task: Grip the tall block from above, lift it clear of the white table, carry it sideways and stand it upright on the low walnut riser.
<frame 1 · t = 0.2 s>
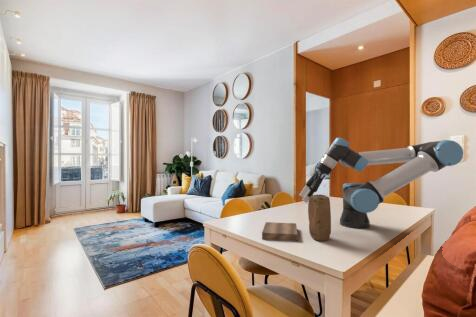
hand: (302, 198, 130), 16 cm above the table, tool tilted 35°, fingers open, 13 cm apart
riser: (280, 233, 123), on the table
block: (319, 238, 116), on the table
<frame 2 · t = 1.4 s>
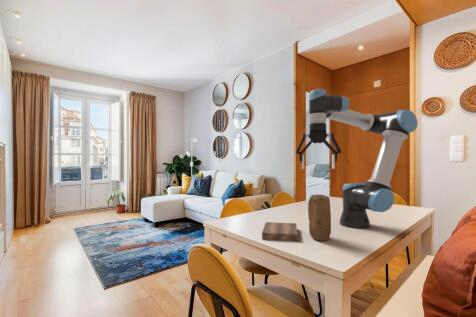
hand: (318, 168, 116), 32 cm above the table, tool pointing down, fingers open, 13 cm apart
nothing on the table moved.
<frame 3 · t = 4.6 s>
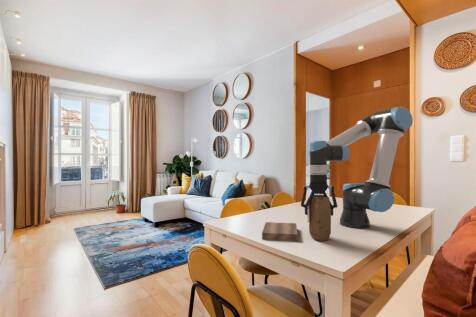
hand: (318, 222, 116), 7 cm above the table, tool pointing down, fingers closed on block, 9 cm apart
block: (318, 238, 116), on the table, touching gripper
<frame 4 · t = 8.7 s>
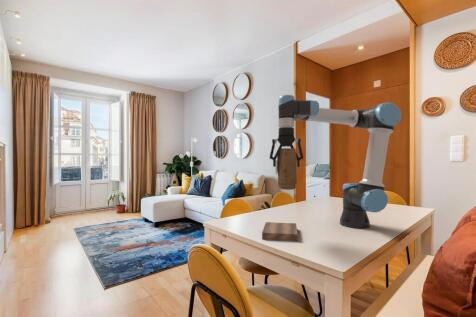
hand: (286, 173, 121), 30 cm above the table, tool pointing down, fingers closed on block, 9 cm apart
block: (286, 189, 121), point 22 cm above the table, touching gripper
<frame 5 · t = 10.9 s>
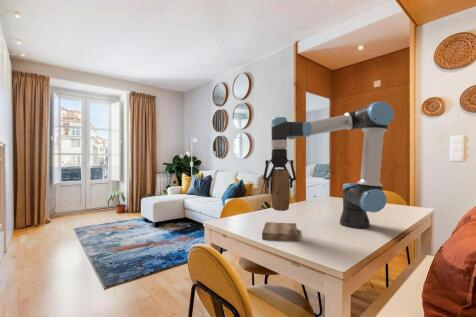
hand: (279, 194, 123), 20 cm above the table, tool pointing down, fingers closed on block, 9 cm apart
block: (279, 209, 123), point 12 cm above the table, touching gripper
when the fingers open (12 cm above the table, at t = 12.8 s): block drops 1 cm, resting on riser.
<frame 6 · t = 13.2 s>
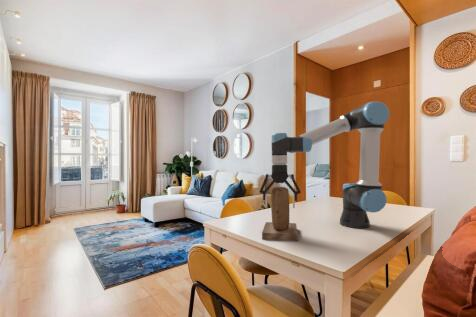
hand: (279, 207, 123), 13 cm above the table, tool pointing down, fingers open, 13 cm apart
block: (279, 228, 123), point 3 cm above the table, touching riser
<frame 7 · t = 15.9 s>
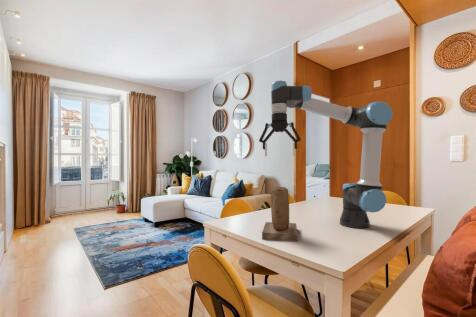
hand: (279, 156, 123), 39 cm above the table, tool pointing down, fingers open, 13 cm apart
nothing on the table moved.
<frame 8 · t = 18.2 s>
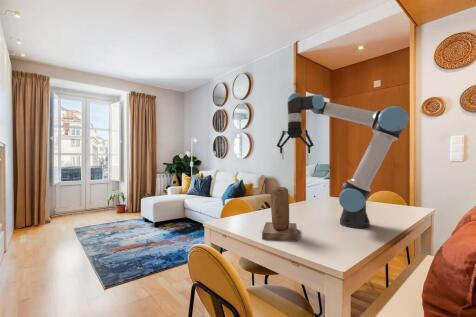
hand: (295, 159, 140), 37 cm above the table, tool pointing down, fingers open, 13 cm apart
nothing on the table moved.
at the end: block inside the target area on the riser (0.2 cm from its centre), point 2.8 cm above the riser's base; block tilted 0°; the gripper is holding nothing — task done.
